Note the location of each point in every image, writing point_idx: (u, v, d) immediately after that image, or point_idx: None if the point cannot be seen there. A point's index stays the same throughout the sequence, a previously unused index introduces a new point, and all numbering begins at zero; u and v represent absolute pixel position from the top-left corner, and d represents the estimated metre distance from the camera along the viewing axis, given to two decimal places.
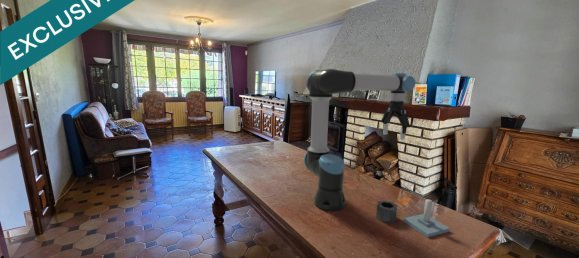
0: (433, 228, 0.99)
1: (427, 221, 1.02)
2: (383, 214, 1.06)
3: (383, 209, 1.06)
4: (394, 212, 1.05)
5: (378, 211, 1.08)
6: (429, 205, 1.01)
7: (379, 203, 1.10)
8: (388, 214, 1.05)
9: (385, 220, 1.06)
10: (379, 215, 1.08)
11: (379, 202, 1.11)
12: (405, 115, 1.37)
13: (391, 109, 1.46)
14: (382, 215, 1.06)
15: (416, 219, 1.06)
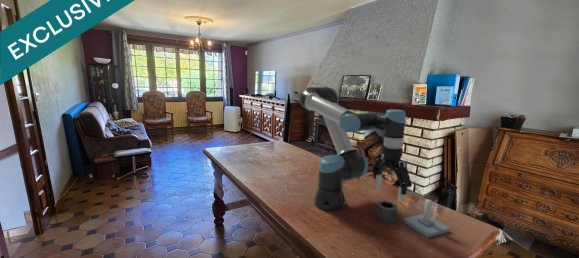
0: (433, 228, 0.99)
1: (427, 221, 1.02)
2: (383, 214, 1.06)
3: (383, 209, 1.06)
4: (394, 212, 1.05)
5: (378, 211, 1.08)
6: (429, 205, 1.01)
7: (379, 203, 1.10)
8: (388, 214, 1.05)
9: (385, 220, 1.06)
10: (379, 215, 1.08)
11: (379, 202, 1.11)
12: (405, 169, 0.98)
13: (385, 157, 1.07)
14: (382, 215, 1.06)
15: (416, 219, 1.06)
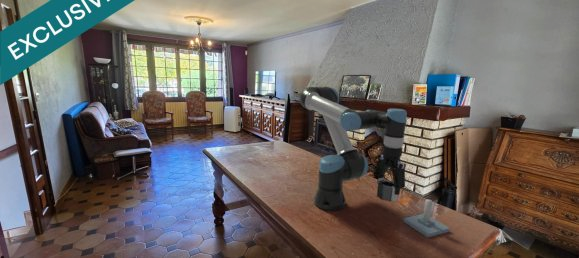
0: (433, 228, 0.99)
1: (427, 221, 1.02)
2: (384, 192, 1.05)
3: (384, 187, 1.04)
4: None
5: (379, 190, 1.07)
6: (429, 205, 1.01)
7: (380, 182, 1.09)
8: (389, 192, 1.04)
9: (386, 198, 1.05)
10: (380, 194, 1.06)
11: (380, 181, 1.09)
12: (402, 171, 1.00)
13: (385, 156, 1.07)
14: (383, 193, 1.05)
15: (416, 219, 1.06)
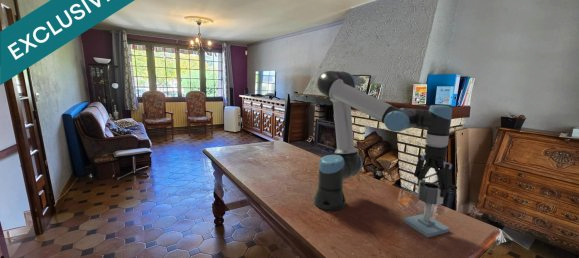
0: (433, 228, 0.99)
1: (427, 221, 1.02)
2: (428, 195, 0.97)
3: (428, 189, 0.97)
4: None
5: (422, 192, 1.00)
6: (429, 205, 1.01)
7: (422, 184, 1.02)
8: (434, 195, 0.97)
9: (430, 201, 0.98)
10: (423, 196, 0.99)
11: (422, 183, 1.02)
12: (449, 172, 0.93)
13: (427, 156, 1.00)
14: (427, 196, 0.98)
15: (416, 219, 1.06)
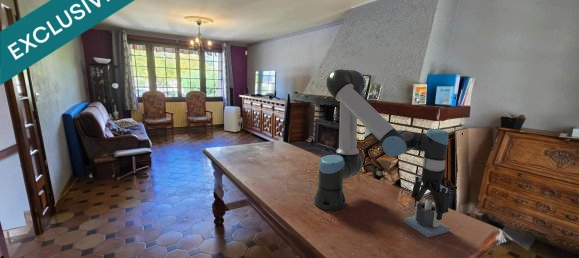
0: (433, 228, 0.99)
1: None
2: (425, 217, 0.99)
3: (425, 212, 0.99)
4: None
5: (419, 214, 1.02)
6: (429, 205, 1.01)
7: (419, 205, 1.03)
8: (430, 217, 0.98)
9: (427, 224, 0.99)
10: (420, 218, 1.01)
11: (419, 205, 1.04)
12: (445, 195, 0.94)
13: (424, 178, 1.02)
14: (424, 218, 1.00)
15: None
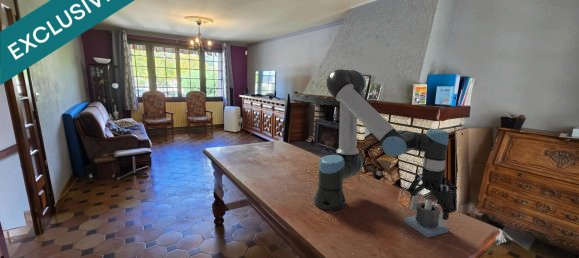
0: (433, 228, 0.99)
1: None
2: (425, 217, 0.99)
3: (425, 212, 0.99)
4: (437, 215, 0.99)
5: (419, 214, 1.02)
6: (429, 205, 1.01)
7: (419, 205, 1.03)
8: (430, 217, 0.98)
9: (427, 224, 0.99)
10: (420, 218, 1.01)
11: (419, 205, 1.04)
12: (447, 194, 0.94)
13: (424, 179, 1.02)
14: (424, 218, 1.00)
15: None
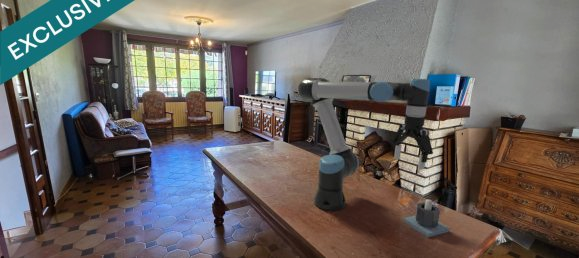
0: (433, 228, 0.99)
1: None
2: (425, 217, 0.99)
3: (425, 212, 0.99)
4: (437, 215, 0.99)
5: (419, 214, 1.02)
6: (429, 205, 1.01)
7: (419, 205, 1.03)
8: (430, 217, 0.98)
9: (427, 224, 0.99)
10: (420, 218, 1.01)
11: (419, 205, 1.04)
12: (426, 137, 1.00)
13: (407, 127, 1.08)
14: (424, 218, 1.00)
15: None
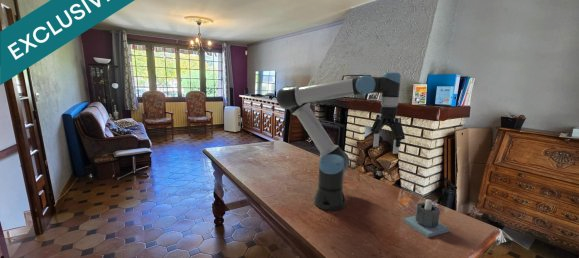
0: (433, 228, 0.99)
1: None
2: (425, 217, 0.99)
3: (425, 212, 0.99)
4: (437, 215, 0.99)
5: (419, 214, 1.02)
6: (429, 205, 1.01)
7: (419, 205, 1.03)
8: (430, 217, 0.98)
9: (427, 224, 0.99)
10: (420, 218, 1.01)
11: (419, 205, 1.04)
12: (399, 124, 1.12)
13: (382, 116, 1.20)
14: (424, 218, 1.00)
15: None
